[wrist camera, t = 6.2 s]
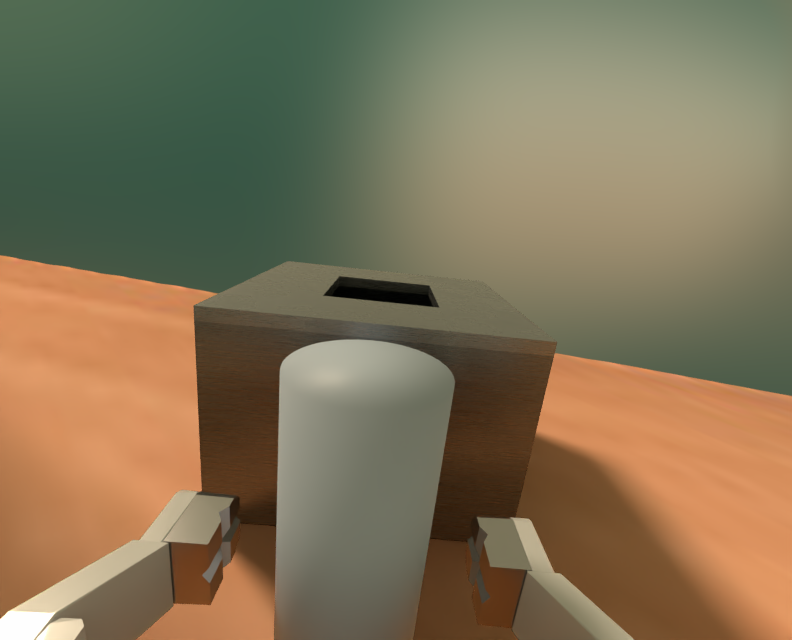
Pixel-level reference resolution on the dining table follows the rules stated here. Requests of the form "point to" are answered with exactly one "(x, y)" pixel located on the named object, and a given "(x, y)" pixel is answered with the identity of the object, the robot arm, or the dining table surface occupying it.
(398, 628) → the grey rounded cylinder
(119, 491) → the dining table surface
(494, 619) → the robot arm
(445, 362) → the grey square box
